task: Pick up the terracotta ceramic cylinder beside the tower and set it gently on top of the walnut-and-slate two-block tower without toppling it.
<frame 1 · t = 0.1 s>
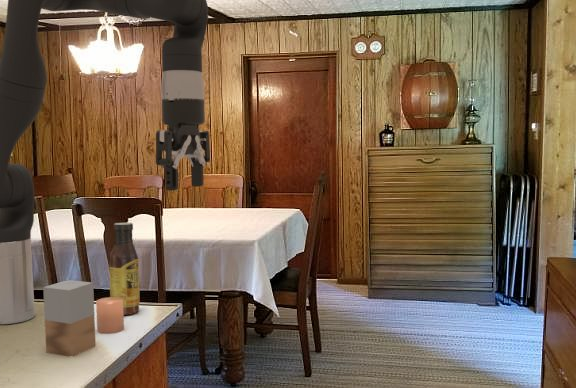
hand: (185, 188, 109), 29 cm above the kitchen counter, fingers open, 8 cm apart
slate block: (70, 317, 109), point 6 cm above the kitchen counter, touching walnut block
sauce bottle: (125, 313, 133), on the kitchen counter
clay cylinder: (110, 329, 121), on the kitchen counter
walnut block: (71, 349, 110), on the kitchen counter, touching slate block
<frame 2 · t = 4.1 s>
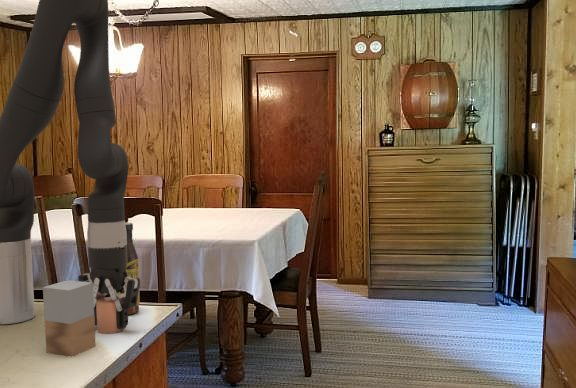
hand: (110, 326, 121), 1 cm above the kitchen counter, fingers closed on clay cylinder, 5 cm apart
clay cylinder: (110, 329, 121), on the kitchen counter, touching gripper
everything else where it was.
when the fingers open (14 cm above the kitchen counter, at t = 9.3 s): clay cylinder drops 1 cm, resting on slate block.
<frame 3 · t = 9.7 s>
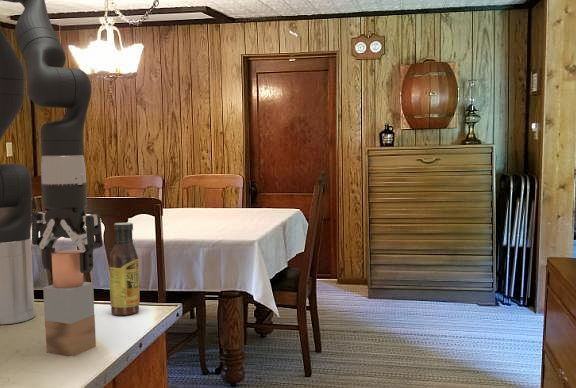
hand: (67, 270, 109), 15 cm above the kitchen counter, fingers open, 8 cm apart
slate block: (70, 317, 109), point 6 cm above the kitchen counter, touching clay cylinder, walnut block
clay cylinder: (68, 284, 109), point 12 cm above the kitchen counter, touching slate block
everything else where it was.
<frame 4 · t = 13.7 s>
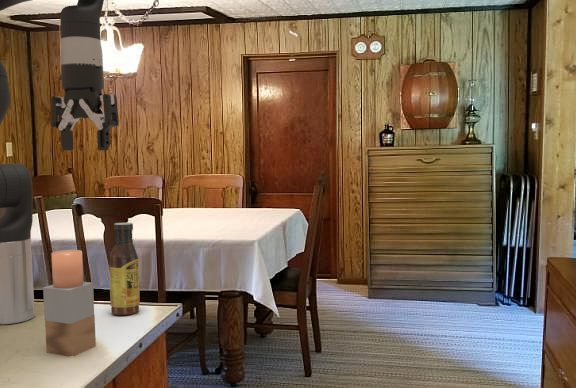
hand: (85, 150, 115), 36 cm above the kitchen counter, fingers open, 8 cm apart
nothing on the kitchen counter moved.
at the end: clay cylinder 0.1 cm off-centre on the walnut block, point 12.0 cm above the walnut block's base; slate block moved 0.1 cm from its start; clay cylinder tilted 0° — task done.
